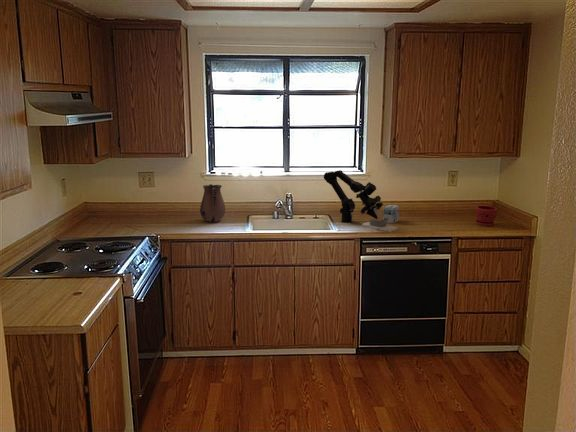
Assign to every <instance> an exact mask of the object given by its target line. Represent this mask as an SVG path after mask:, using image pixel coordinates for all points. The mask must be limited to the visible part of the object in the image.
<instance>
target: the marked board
mask: <svg viewBox="0 0 576 432" xmlns="http://www.w3.org/2000/svg"><path fill="white" fill-rule="evenodd" d="M361 226H362V227H364V228H369V229H373V228H374V229H373V230H378V229H379V231H382V232H383V231H385V232H387V233H388V232H389V233H392V232H394V231H398V227H397V226H391V225H387V224H386V225H385V226H382V227H379V226H374V225H370V221H367V222H365V223H361Z"/></svg>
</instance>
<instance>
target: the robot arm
mask: <svg viewBox="0 0 576 432" xmlns="http://www.w3.org/2000/svg"><path fill="white" fill-rule="evenodd" d="M323 179H324V181H326V183H328V184H329V185H331V187H332V190H334V192H335V193H336V195H337V196H338V198H339V200H340V201H341V208H339V213H340V214H341V223H352V221H353V214H352V213H354V211H355V209H356V204H355V201H354V199H353V198H348V196H347V194H346V193H345V191H344V190H343V188H342V186H341V185H340V184H339V182H338V179H340V180H341V182H344V184H346V185H347V186H349V188H350V190H351V191H352V192H353V193H355V195H356V196H355V198H356V199H359V200H361V202H362V205H364V206H363V207H362V208H361V209H360V213H361V214H362V215H363V214H366V215H368V216H371V217H372V218H373V219H374V218H375V219H378V217H377V215H376V214H375V212H374V210H376V209H379V210H381V208H382V207H383V206H384V203H383V201H382V202H381V199H382V197H381V196H380V195H376V196H375V197H370V196H371V195H372V194H374V192H375V191H376V190H377V187H376V185H374V184H373V183H372V182H370V181H369V182H367V183H366V185H364V184H362V182H359V181H356V180H354V179H353V178H351V177H350V176H348V174H346V173H344V172H343V171H342V170H336V171H328V172H325V173H324V175H323Z"/></svg>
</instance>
